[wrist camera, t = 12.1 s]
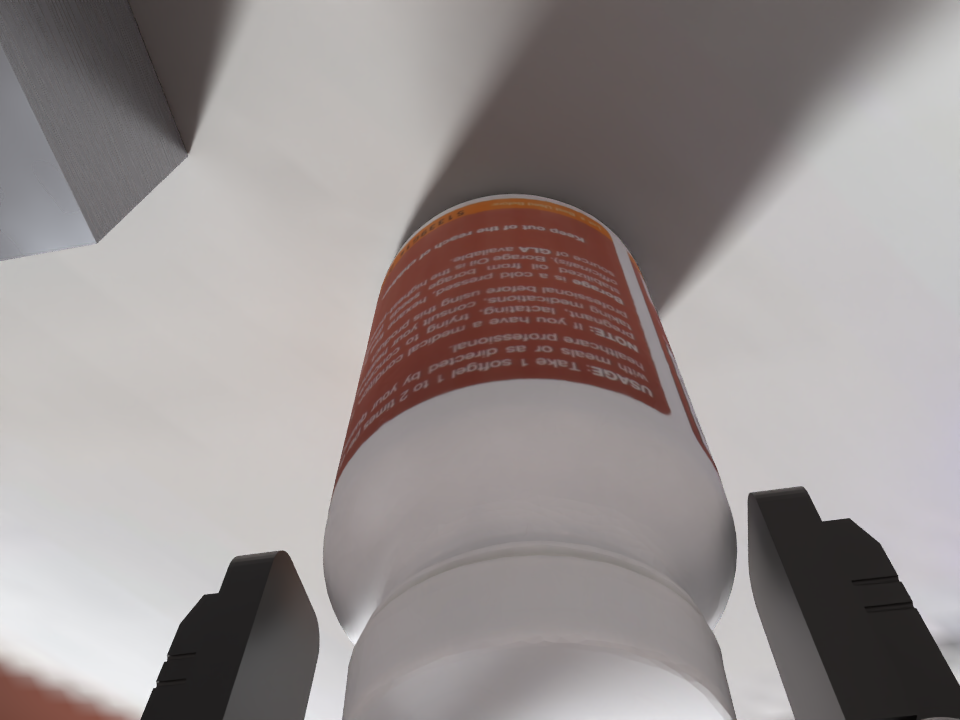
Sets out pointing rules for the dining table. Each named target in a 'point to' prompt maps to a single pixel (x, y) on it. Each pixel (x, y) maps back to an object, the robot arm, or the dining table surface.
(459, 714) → the pill bottle
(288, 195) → the dining table surface
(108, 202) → the bore housing
